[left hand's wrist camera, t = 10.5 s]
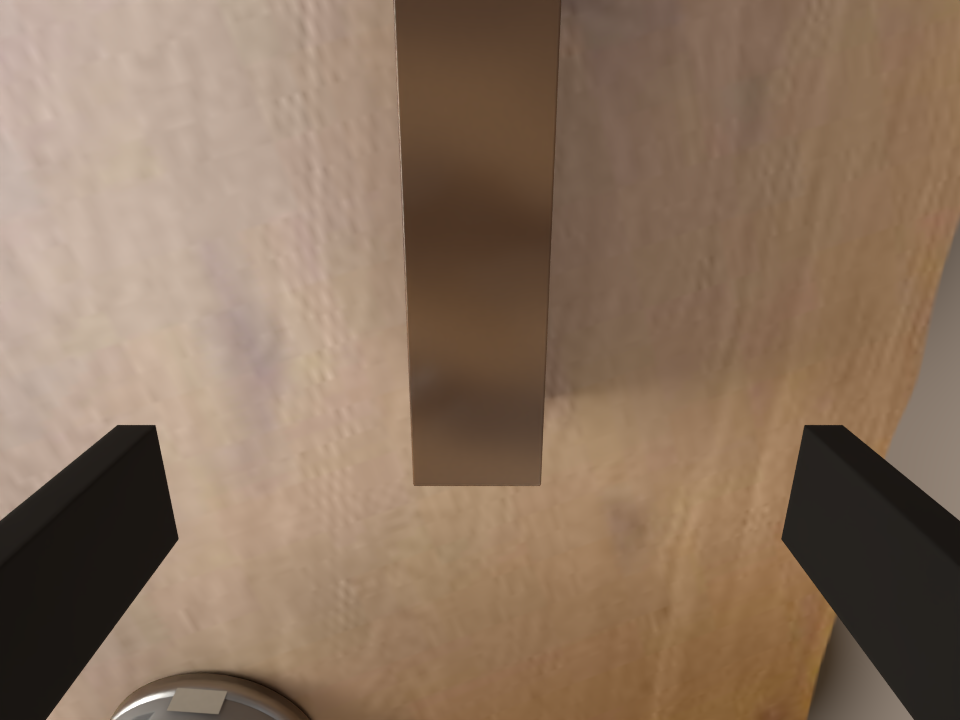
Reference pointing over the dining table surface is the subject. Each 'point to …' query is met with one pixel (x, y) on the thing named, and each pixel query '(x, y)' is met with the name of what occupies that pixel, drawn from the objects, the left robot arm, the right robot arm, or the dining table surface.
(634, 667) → the dining table surface
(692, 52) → the dining table surface
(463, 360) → the plank
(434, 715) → the dining table surface
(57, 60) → the dining table surface
